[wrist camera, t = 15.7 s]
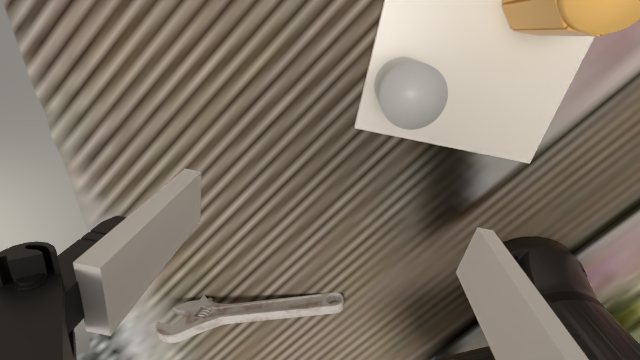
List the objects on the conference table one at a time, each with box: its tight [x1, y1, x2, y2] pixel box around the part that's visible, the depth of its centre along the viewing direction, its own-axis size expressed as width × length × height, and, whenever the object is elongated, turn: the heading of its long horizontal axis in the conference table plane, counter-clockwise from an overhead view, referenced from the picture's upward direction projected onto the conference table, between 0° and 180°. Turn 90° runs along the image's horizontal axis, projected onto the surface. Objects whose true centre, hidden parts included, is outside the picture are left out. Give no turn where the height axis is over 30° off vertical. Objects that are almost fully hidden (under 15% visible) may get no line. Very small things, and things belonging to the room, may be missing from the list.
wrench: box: [156, 293, 344, 343], centre depth 52 cm, size 8×2×30 cm
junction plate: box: [354, 0, 595, 164], centre depth 31 cm, size 22×22×10 cm
